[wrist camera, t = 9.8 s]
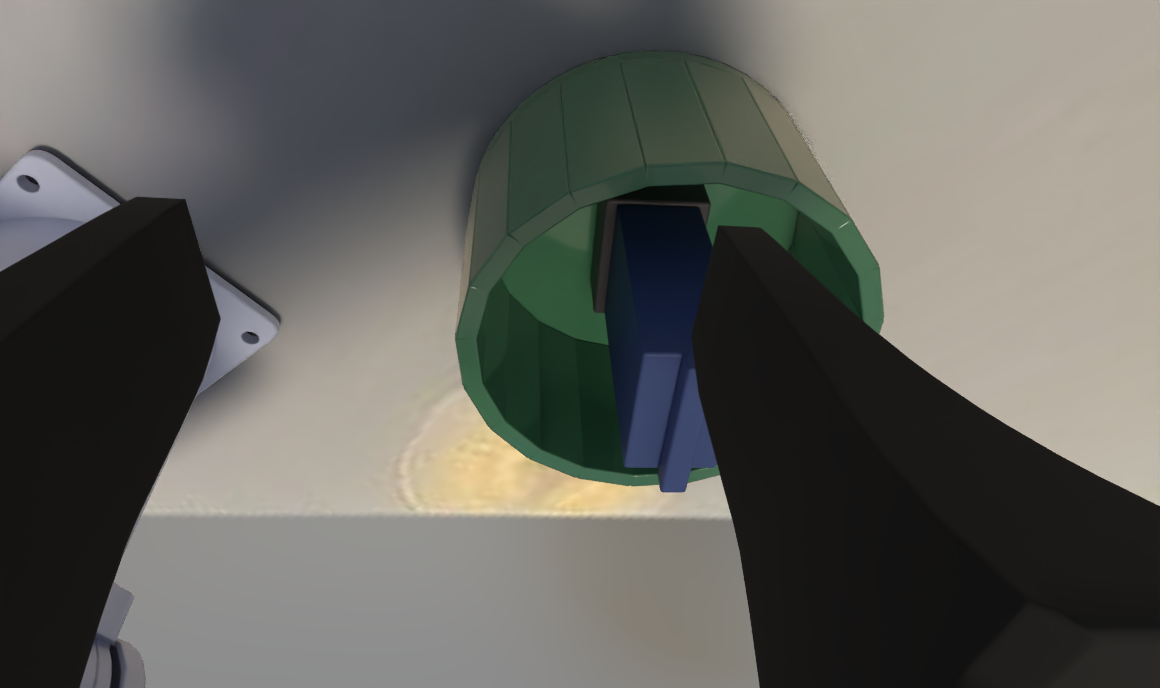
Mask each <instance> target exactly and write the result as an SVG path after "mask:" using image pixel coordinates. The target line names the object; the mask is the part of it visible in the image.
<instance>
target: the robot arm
mask: <svg viewBox="0 0 1160 688" xmlns="http://www.w3.org/2000/svg"><path fill="white" fill-rule="evenodd" d="M25 175H28V176H30V177H32V178H34V179H35V180H36V181H37V182H38V184H39V185H35V184H33V183H31V182H30V181H29V180H28V179H27V178H26V177H25ZM279 326H280V324H279V322H278V320H277V319H276V318H275V317H274V316H273V315H272V314H271V313H269V312H268V311H267V310H265V309H264V308H263V307H261V306H260V305H258V304H257V303H256V302H254V301H253V300H252V299H250V298H249V297H247V296H246V295H245V294H243V293H242V292H241V291H239V290H238V289H236V288H235V287H234V286H232V285H231V284H230V283H228V282H227V281H225V280H224V279H223V278H221V277H220V276H219V275H217V274H216V273H214V272H213V271H212V270H210V269H209V268H208V267H206V266H205V264H204V261H203V257H202V254H201V251H200V247H199V244H198V240H197V237H196V234H195V230H194V227H193V224H192V220H191V217H190V214H189V210H188V207H187V203H186V200H185V199H169V198H149V197H136V198H134V199H131V200H129V201H127V202H125V203H122V204H120V203H118V202H117V201H116V200H114V199H113V198H112V197H110V196H109V195H107V194H106V193H105V192H103V191H102V190H101V189H99V188H98V187H96V186H95V185H94V184H92V183H91V182H90V181H88V180H87V179H86V178H84V177H83V176H81V175H80V174H79V173H77V172H76V171H75V170H73V169H72V168H70V167H69V166H68V165H66V164H65V163H64V162H62V161H61V160H59V159H58V158H57V157H55V156H54V155H52V154H50V153H48V152H46V151H42V150H31V151H29V152H28V153H26V154H25V155H24V156H23V157H22V158H21V159H20V160H19V161H18V162H17V163H16V164H15V165H14V166H13V167H12V168H11V169H10V170H9V171H8V172H7V174H6V175H5V176H4V177H3V178H2V179H1V180H0V688H145V671H144V663H143V660H142V658H141V656H140V653H139V652H138V651H137V650H136V649H135V648H134V647H133V646H132V645H131V644H130V643H128V642H125V641H123V640H120V639H118V638H117V637H118V634H119V632H120V629H121V627H122V625H123V623H124V620H125V618H126V616H127V613H128V611H129V608H130V606H131V604H132V602H133V599H134V595H133V594H132V593H131V592H129V591H127V590H125V589H123V588H121V587H120V586H118V585H117V584H116V583H114V579H115V576H116V573H117V570H118V567H119V564H120V561H121V558H122V556H123V554H124V552H125V550H126V548H127V545H128V543H129V541H130V539H131V537H132V534H133V532H134V530H135V528H136V526H137V524H138V521H139V519H140V517H141V515H142V513H143V511H144V508H145V506H146V504H147V502H148V500H149V498H150V495H151V493H152V491H153V489H154V487H155V485H156V482H157V480H158V478H159V476H160V474H161V472H162V469H163V467H164V465H165V463H166V461H167V459H168V456H169V454H170V452H171V450H172V448H173V446H174V443H175V441H176V439H177V437H178V435H179V433H180V430H181V428H182V426H183V424H184V422H185V420H186V417H187V415H188V413H189V411H190V409H191V407H192V404H193V402H194V400H195V398H196V396H197V395H198V394H200V393H201V392H202V391H204V390H205V389H206V388H208V387H209V386H210V385H212V384H213V383H214V382H216V381H217V380H218V379H220V378H221V377H223V376H224V375H225V374H227V373H228V372H229V371H231V370H232V369H233V368H235V367H236V366H237V365H239V364H240V363H242V362H243V361H244V360H246V359H247V358H248V357H250V356H251V355H252V354H254V353H255V352H256V351H258V350H259V349H261V348H262V347H263V346H265V345H266V344H267V343H269V342H270V341H271V340H273V339H274V338H275V337H276V335H277V333H278V331H279ZM247 332H253V333H255V334H256V335H257V336H252V335H249V334H248V333H247ZM691 337H692V346H693V355H694V363H695V371H696V379H697V386H698V393H699V397H700V401H701V405H702V409H703V413H704V417H705V421H706V424H707V428H708V432H709V436H710V439H711V443H712V447H713V450H714V454H715V458H716V461H717V465H718V469H719V472H720V476H721V480H722V483H723V487H724V491H725V494H726V498H727V502H728V505H729V509H730V513H731V516H732V520H733V524H734V527H735V533H736V537H737V541H738V546H739V550H740V556H741V562H742V569H743V575H744V581H745V587H746V594H747V600H748V606H749V613H750V619H751V627H752V634H753V641H754V649H755V655H756V663H757V670H758V677H759V685H760V688H1160V506H1158V505H1156V504H1154V503H1152V502H1150V501H1148V500H1146V499H1144V498H1142V497H1140V496H1138V495H1136V494H1134V493H1132V492H1130V491H1128V490H1126V489H1123V488H1121V487H1119V486H1117V485H1115V484H1113V483H1111V482H1109V481H1107V480H1105V479H1103V478H1101V477H1099V476H1097V475H1095V474H1093V473H1092V472H1090V471H1088V470H1086V469H1084V468H1082V467H1080V466H1078V465H1076V464H1075V463H1073V462H1071V461H1069V460H1067V459H1065V458H1063V457H1061V456H1060V455H1058V454H1056V453H1054V452H1052V451H1051V450H1049V449H1047V448H1046V447H1044V446H1042V445H1040V444H1039V443H1037V442H1035V441H1034V440H1032V439H1030V438H1028V437H1027V436H1025V435H1023V434H1022V433H1020V432H1018V431H1016V430H1015V429H1013V428H1011V427H1009V426H1008V425H1006V424H1004V423H1003V422H1001V421H1000V420H998V419H996V418H995V417H993V416H992V415H990V414H988V413H987V412H985V411H984V410H982V409H980V408H979V407H977V406H976V405H974V404H973V403H971V402H970V401H968V400H967V399H966V398H964V397H963V396H961V395H960V394H958V393H957V392H955V391H954V390H952V389H951V388H950V387H948V386H947V385H945V384H944V383H942V382H941V381H939V380H938V379H936V378H935V377H933V376H932V375H931V374H929V373H928V372H927V371H925V370H924V369H923V368H921V367H920V366H919V365H917V364H916V363H914V362H913V361H912V360H911V359H909V358H908V357H907V356H906V355H904V354H903V353H902V352H901V351H899V350H898V349H897V348H896V347H894V346H893V345H892V344H891V343H889V342H888V341H887V340H886V339H884V338H883V337H882V336H881V335H879V334H878V333H877V332H876V331H874V330H873V329H872V328H871V327H870V326H869V325H867V324H866V323H865V322H864V321H863V320H862V319H860V318H859V317H858V316H857V315H856V314H855V313H854V312H852V311H851V310H850V309H849V308H848V307H847V306H846V305H845V304H843V303H842V302H841V301H840V300H839V299H838V298H837V297H836V296H835V295H833V294H832V293H831V292H830V291H829V290H828V289H827V288H826V287H825V286H824V285H823V284H822V283H821V282H819V281H818V280H817V279H816V278H815V277H814V276H813V275H812V274H811V273H810V272H809V271H808V270H807V269H806V268H805V267H804V266H802V265H801V264H800V263H799V262H798V261H797V260H796V259H795V258H794V257H793V256H792V255H791V254H790V253H789V252H788V251H787V250H785V249H784V248H783V247H782V246H781V245H780V244H779V243H778V242H777V241H776V240H775V239H774V238H772V237H771V236H770V235H769V234H768V233H767V232H765V231H764V230H763V229H762V228H760V227H743V226H722V225H718V227H717V232H716V236H715V240H714V244H713V248H712V252H711V256H710V260H709V265H708V269H707V273H706V277H705V281H704V285H703V289H702V293H701V298H700V302H699V306H698V310H697V314H696V318H695V322H694V326H693V331H692V335H691Z"/></svg>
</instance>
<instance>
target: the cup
mask: <svg viewBox="0 0 1160 688" xmlns="http://www.w3.org/2000/svg"><path fill="white" fill-rule="evenodd" d="M702 184H704V186H705V188H706V191H707V194H708V197H709V200H710V202H711V208H710V212H709V217H708V222H707V226H706V228H707V231H708V234H709V237H710V240H711V243H712V246H713V244H714V240H715V236H716V232H717V227H718V225H722V226H743V227H760V228H762V229H763V230H764V231H765V232H767V233H768V234H769V235H770V236H771V237H772V238H774V239H775V240H776V241H777V242H778V243H779V244H780V245H781V246H782V247H783V248H784V249H785V250H787V251H788V252H789V253H790V254H791V255H792V256H793V257H794V258H795V259H796V260H797V261H798V262H799V263H800V264H801V265H802V266H804V267H805V268H806V269H807V270H808V271H809V272H810V273H811V274H812V275H813V276H814V277H815V278H816V279H817V280H818V281H819V282H821V283H822V284H823V285H824V286H825V287H826V288H827V289H828V290H829V291H830V292H831V293H832V294H833V295H835V296H836V297H837V298H838V299H839V300H840V301H841V302H842V303H843V304H845V305H846V306H847V307H848V308H849V309H850V310H851V311H852V312H854V313H855V314H856V315H857V316H858V317H859V318H860V319H862V320H863V321H864V322H865V323H866V324H867V325H869V326H870V327H871V328H872V329H873V330H874V331H876V332H877V333H878V334H879V333H880V330H881V327H882V324H883V321H884V319H883V318H884V309H883V298H882V286H881V275H880V267H879V264H878V262H877V260H876V259H875V257H874V255H873V254H872V252H871V250H870V249H869V247H868V245H867V244H866V242H865V240H864V239H863V237H862V235H861V234H860V232H859V230H858V229H857V227H856V225H855V223H854V222H853V220H852V218H851V217H850V215H849V213H848V212H847V210H846V208H845V207H844V205H843V204H842V202H841V200H840V199H839V197H838V195H837V194H836V192H835V190H834V189H833V187H832V185H831V184H830V182H829V180H828V179H827V177H826V175H825V174H824V172H823V170H822V169H821V167H820V165H819V164H818V162H817V160H816V159H815V157H814V155H813V154H812V152H811V151H810V149H809V147H808V146H807V144H806V142H805V141H804V139H803V137H802V136H801V134H800V132H799V131H798V129H797V127H796V126H795V124H794V122H793V121H792V119H791V117H790V116H789V114H788V112H787V111H786V110H785V109H784V108H783V107H782V106H781V104H780V103H779V102H778V101H777V100H776V99H775V98H774V97H773V96H772V95H771V94H770V93H769V92H768V91H767V90H766V89H765V88H763V87H762V86H761V85H759V84H758V83H756V82H755V81H754V80H752V79H751V78H750V77H748V76H747V75H745V74H743V73H741V72H739V71H737V70H735V69H733V68H732V67H730V66H728V65H725V64H723V63H720V62H717V61H714V60H711V59H708V58H705V57H702V56H697V55H692V54H686V53H681V52H669V51H642V52H628V53H623V54H619V55H614V56H609V57H604V58H601V59H598V60H595V61H592V62H589V63H586V64H583V65H580V66H578V67H576V68H574V69H572V70H570V71H568V72H566V73H564V74H562V75H560V76H558V77H556V78H554V79H553V80H551V81H550V82H548V83H547V84H545V85H544V86H542V87H541V88H539V89H538V90H536V91H535V92H534V93H532V94H531V95H530V96H529V97H528V98H527V99H526V100H525V101H523V102H522V103H521V104H520V105H519V106H518V107H517V108H516V109H515V110H514V111H513V112H512V113H511V115H510V116H509V117H508V118H507V119H506V120H505V122H504V123H503V124H502V125H501V126H500V128H499V129H498V131H497V133H496V134H495V136H494V137H493V139H492V140H491V142H490V143H489V145H488V147H487V150H486V152H485V154H484V156H483V158H482V161H481V163H480V165H479V169H478V172H477V176H476V179H475V183H474V188H473V196H472V201H471V205H470V209H469V213H468V222H467V231H466V240H465V250H464V259H463V268H462V277H461V286H460V296H459V305H458V314H457V323H456V332H455V342H456V348H457V354H458V360H459V367H460V373H461V379H462V385H463V386H464V389H465V391H466V392H467V394H468V396H469V397H470V399H471V400H472V402H473V403H474V405H475V407H476V408H477V410H478V411H479V413H480V414H481V416H482V418H483V419H484V421H485V422H486V424H487V425H488V427H490V429H491V430H492V431H493V432H495V433H496V434H497V435H499V436H500V437H501V438H502V439H504V440H505V441H506V442H508V443H509V444H510V445H511V446H513V447H514V448H515V449H517V450H518V451H519V452H520V453H522V454H523V455H524V456H526V457H527V458H529V459H530V460H533V461H535V462H538V463H540V464H543V465H545V466H548V467H550V468H553V469H555V470H558V471H560V472H563V473H565V474H568V475H570V476H572V477H577V478H579V479H585V480H592V481H598V482H605V483H611V484H618V485H625V486H630V485H631V486H647V485H659V479H658V469H659V468H629V467H625V466H624V463H623V455H622V447H621V440H620V432H619V424H618V416H617V408H616V400H615V392H614V384H613V376H612V368H611V360H610V352H609V344H608V336H607V328H606V320H605V313H595V312H594V310H593V300H592V291H591V282H590V280H591V270H592V260H593V250H594V240H595V230H596V220H597V210H598V203H599V202H602V201H605V200H609V199H612V198H615V197H618V196H621V195H624V194H627V193H630V192H633V191H636V190H639V189H642V188H645V187H652V186H677V185H702ZM718 475H720V472H719V469H718V465H717V464H716V467H714V468H691V472H690V475H689V479H688V483H690V482H694V481H698V480H702V479H706V478H710V477H714V476H718Z"/></svg>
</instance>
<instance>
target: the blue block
mask: <svg viewBox="0 0 1160 688" xmlns="http://www.w3.org/2000/svg"><path fill="white" fill-rule="evenodd" d="M710 208H711V202H710V200H709V197H708V194H707V191H706V188H705V186H704V184H702V185H677V186H652V187H645V188H642V189H639V190H636V191H633V192H630V193H627V194H624V195H621V196H618V197H615V198H612V199H609V200H605V201H602V202H599V203H598V210H597V220H596V230H595V240H594V250H593V260H592V270H591V280H590V282H591V291H592V300H593V310H594V312H595V313H605V320H606V328H607V336H608V344H609V352H610V360H611V368H612V376H613V384H614V392H615V400H616V408H617V416H618V424H619V432H620V440H621V447H622V455H623V463H624V466H625V467H629V468H659V469H658V479H659V485H660V490H661V492H685V490H686V487H687V483H688V479H689V475H690V472H691V468H714V467H716V464H717V461H716V458H715V454H714V450H713V447H712V443H711V439H710V436H709V432H708V428H707V424H706V421H705V417H704V413H703V409H702V405H701V401H700V397H699V393H698V386H697V379H696V371H695V363H694V355H693V346H692V337H691V335H692V331H693V326H694V322H695V318H696V314H697V310H698V306H699V302H700V298H701V293H702V289H703V285H704V281H705V277H706V273H707V269H708V265H709V260H710V256H711V252H712V248H713V246H712V243H711V240H710V237H709V234H708V231H707V228H706V226H707V222H708V217H709V212H710Z"/></svg>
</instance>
